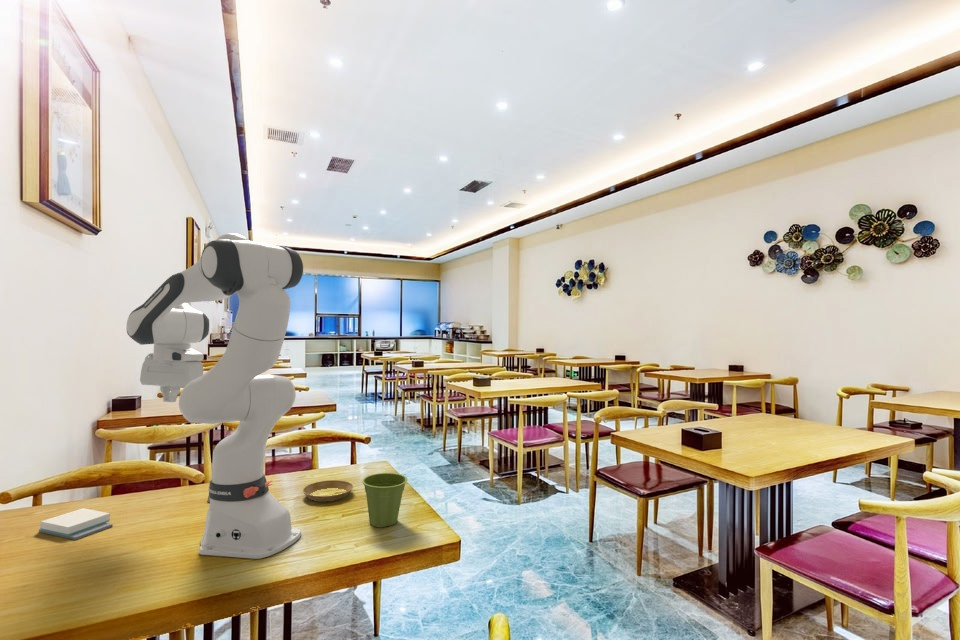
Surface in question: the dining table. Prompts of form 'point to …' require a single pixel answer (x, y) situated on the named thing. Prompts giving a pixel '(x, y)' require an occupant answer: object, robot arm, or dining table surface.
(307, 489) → the plant saucer
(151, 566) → the dining table surface
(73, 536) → the slate board
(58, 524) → the tile
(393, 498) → the plant pot
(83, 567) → the dining table surface
